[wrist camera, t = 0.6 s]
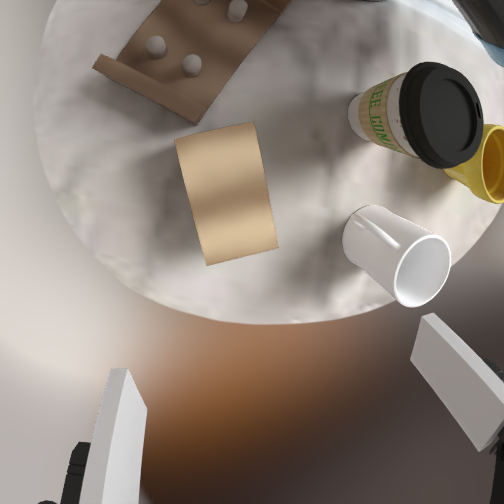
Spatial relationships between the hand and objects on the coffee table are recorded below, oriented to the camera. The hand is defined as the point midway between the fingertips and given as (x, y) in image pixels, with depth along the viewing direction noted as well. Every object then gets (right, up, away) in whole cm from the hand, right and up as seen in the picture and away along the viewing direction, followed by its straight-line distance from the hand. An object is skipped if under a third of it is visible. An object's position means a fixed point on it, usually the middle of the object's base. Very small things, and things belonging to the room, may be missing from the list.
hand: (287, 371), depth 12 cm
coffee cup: (+13, +22, +21) cm, 33 cm away
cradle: (-7, +29, +15) cm, 33 cm away
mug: (+13, +8, +26) cm, 30 cm away
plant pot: (+28, +19, +24) cm, 42 cm away
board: (-4, +11, +17) cm, 21 cm away
